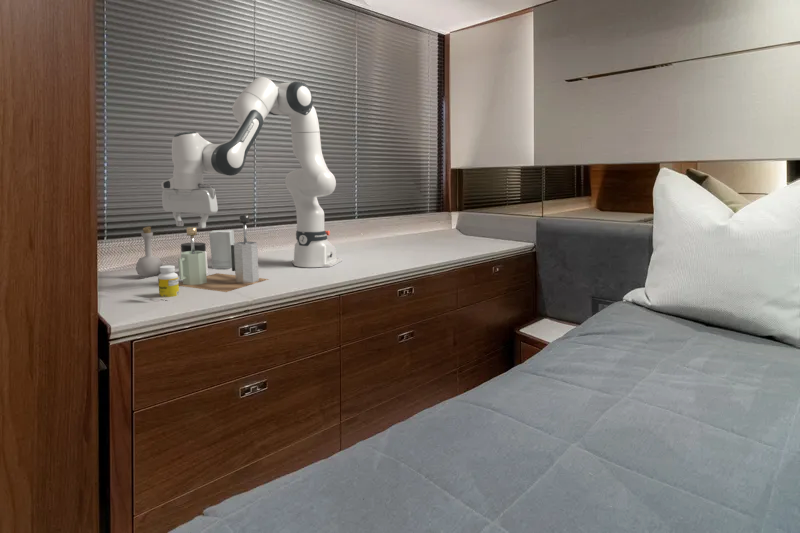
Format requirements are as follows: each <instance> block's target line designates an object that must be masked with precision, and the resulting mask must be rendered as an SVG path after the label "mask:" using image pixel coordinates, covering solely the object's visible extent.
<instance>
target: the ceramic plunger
mask: <svg viewBox="0 0 800 533" xmlns="http://www.w3.org/2000/svg"><path fill="white" fill-rule="evenodd" d="M197 229H198V228H197V226H192V227H191V226H188V227H186V236H188V237H189V236H190V243H191V252H192V254H195V248H194V243H195V238H194V237H195V236H197V235H198V231H197Z"/></svg>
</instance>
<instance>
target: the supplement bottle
mask: <svg viewBox="0 0 800 533" xmlns="http://www.w3.org/2000/svg"><path fill="white" fill-rule="evenodd" d="M175 268H176V267H175V265H163V266H161V267H160V272H161V274H159V275H158V276H157V282H158V284H157V285H158V294H159V295H158V296H159V297H160V298H161V297H162V298H172V297H176V296H177V297H178V296H179V295H180V286H179V274H178V273H176V272H175V271H176V269H175ZM164 300H165V299H164ZM160 301H163V299H160ZM166 301H167V302H168V300H167V299H166V300H165V301H164V302H166Z"/></svg>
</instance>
